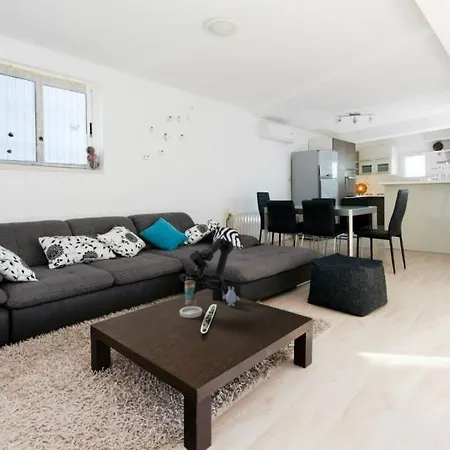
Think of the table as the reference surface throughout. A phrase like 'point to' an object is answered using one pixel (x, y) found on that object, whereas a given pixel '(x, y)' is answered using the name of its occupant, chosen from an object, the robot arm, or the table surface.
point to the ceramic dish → (190, 312)
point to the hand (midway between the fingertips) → (189, 293)
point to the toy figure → (231, 297)
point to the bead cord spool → (190, 293)
